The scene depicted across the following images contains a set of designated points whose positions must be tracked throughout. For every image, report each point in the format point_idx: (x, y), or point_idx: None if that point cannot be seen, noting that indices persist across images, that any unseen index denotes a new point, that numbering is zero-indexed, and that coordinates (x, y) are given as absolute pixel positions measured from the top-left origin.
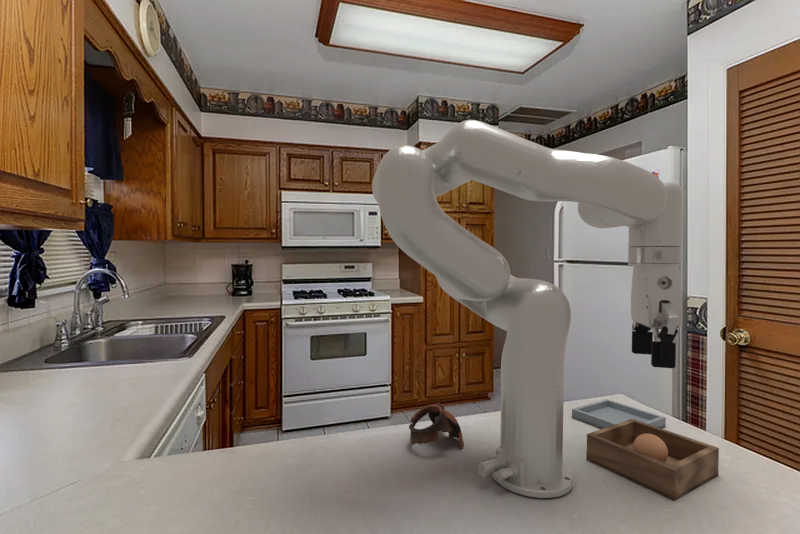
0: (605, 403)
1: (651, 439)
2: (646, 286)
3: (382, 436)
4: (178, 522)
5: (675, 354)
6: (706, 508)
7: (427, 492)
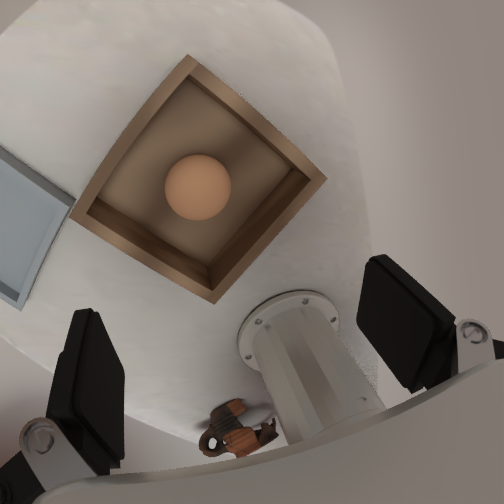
0: None
1: (218, 197)
2: None
3: None
4: None
5: (418, 283)
6: (312, 125)
7: None
